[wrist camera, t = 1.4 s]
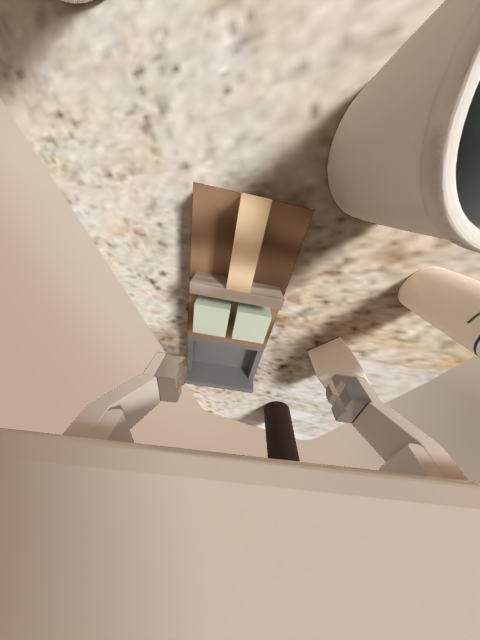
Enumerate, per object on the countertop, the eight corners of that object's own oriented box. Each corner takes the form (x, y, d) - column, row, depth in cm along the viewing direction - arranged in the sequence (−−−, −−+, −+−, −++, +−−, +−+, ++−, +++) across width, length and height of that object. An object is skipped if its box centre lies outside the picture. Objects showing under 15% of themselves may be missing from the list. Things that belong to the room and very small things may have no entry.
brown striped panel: (201, 184, 24) (193, 182, 20) (305, 208, 25) (314, 209, 21) (192, 322, 36) (187, 335, 32) (263, 335, 37) (264, 348, 33)
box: (192, 324, 36) (184, 344, 31) (262, 336, 37) (265, 357, 32) (190, 360, 41) (183, 382, 36) (251, 370, 42) (252, 393, 37)
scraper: (202, 184, 20) (193, 181, 17) (306, 208, 21) (317, 209, 18) (196, 281, 27) (189, 293, 23) (276, 296, 27) (280, 309, 24)
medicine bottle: (320, 369, 42) (343, 424, 32) (306, 350, 39) (327, 403, 29) (352, 357, 39) (388, 411, 29) (340, 335, 36) (376, 387, 26)
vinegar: (286, 415, 52) (305, 516, 36) (262, 414, 52) (270, 515, 36) (290, 401, 49) (313, 507, 32) (265, 400, 49) (274, 505, 32)
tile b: (238, 301, 28) (237, 311, 26) (269, 307, 29) (271, 317, 26) (232, 327, 31) (231, 338, 28) (261, 332, 31) (262, 343, 29)
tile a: (199, 294, 28) (194, 303, 25) (231, 300, 28) (230, 310, 26) (197, 321, 30) (192, 332, 28) (226, 326, 31) (225, 337, 28)
